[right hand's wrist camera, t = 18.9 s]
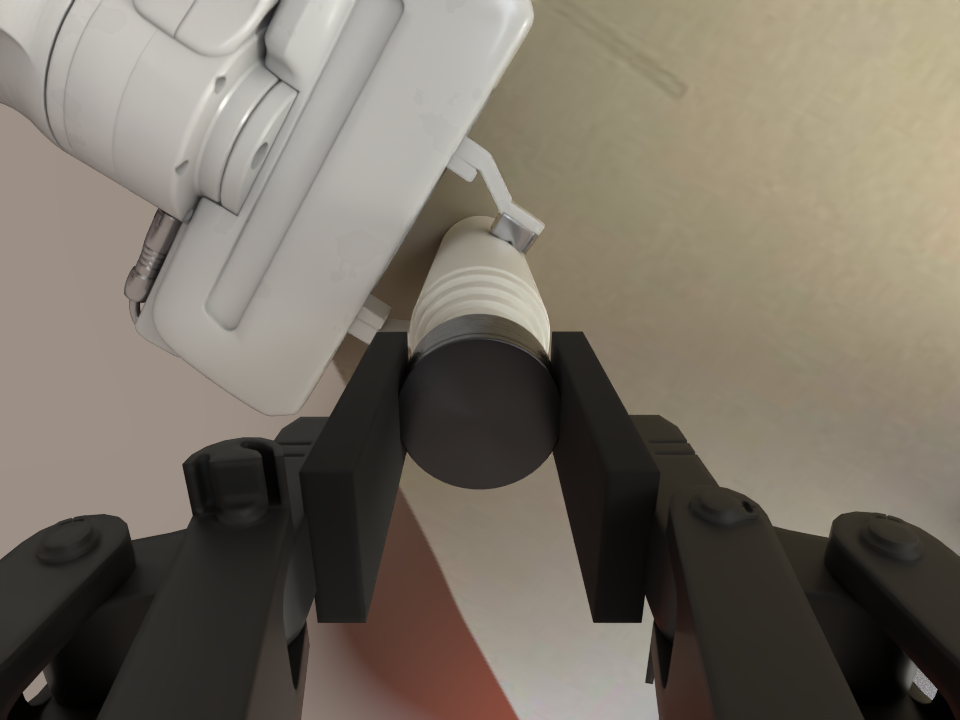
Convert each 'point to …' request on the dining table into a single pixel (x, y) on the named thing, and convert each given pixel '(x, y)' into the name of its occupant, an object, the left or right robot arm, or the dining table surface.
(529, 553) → the dining table surface
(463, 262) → the bottle
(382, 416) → the right robot arm
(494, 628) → the dining table surface
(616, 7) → the dining table surface
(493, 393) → the cap
